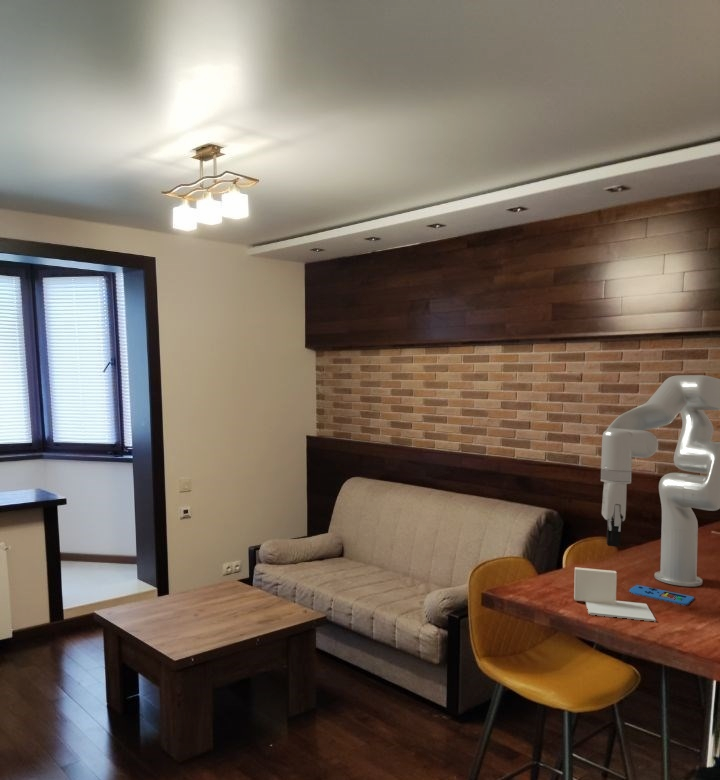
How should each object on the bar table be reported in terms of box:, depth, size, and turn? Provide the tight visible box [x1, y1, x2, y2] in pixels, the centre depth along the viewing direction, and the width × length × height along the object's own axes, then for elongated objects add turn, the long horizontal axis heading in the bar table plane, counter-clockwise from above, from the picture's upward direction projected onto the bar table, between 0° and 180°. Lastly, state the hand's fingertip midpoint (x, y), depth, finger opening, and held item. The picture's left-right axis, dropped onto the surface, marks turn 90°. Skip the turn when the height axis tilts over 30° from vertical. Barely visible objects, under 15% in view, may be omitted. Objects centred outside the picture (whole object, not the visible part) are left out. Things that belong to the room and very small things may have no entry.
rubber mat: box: [584, 600, 657, 623], centre depth 158 cm, size 12×15×1 cm
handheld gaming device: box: [628, 584, 695, 606], centre depth 171 cm, size 8×1×15 cm
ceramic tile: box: [573, 566, 618, 605], centre depth 163 cm, size 2×10×8 cm, turn 75°
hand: (613, 545), depth 167 cm, fingers closed
